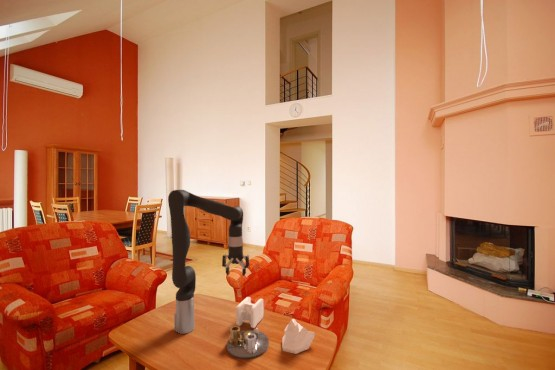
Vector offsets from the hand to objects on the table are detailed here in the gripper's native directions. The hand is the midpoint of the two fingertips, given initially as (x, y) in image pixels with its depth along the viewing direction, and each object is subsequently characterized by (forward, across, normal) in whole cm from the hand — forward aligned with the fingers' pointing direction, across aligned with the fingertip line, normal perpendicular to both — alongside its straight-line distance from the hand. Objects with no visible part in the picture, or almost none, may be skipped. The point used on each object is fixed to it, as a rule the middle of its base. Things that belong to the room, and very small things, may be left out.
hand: (235, 274), depth 138 cm
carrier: (+30, +9, -11) cm, 33 cm away
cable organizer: (+30, +5, +9) cm, 32 cm away
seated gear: (+28, +3, -11) cm, 30 cm away
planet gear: (+28, +12, -16) cm, 35 cm away
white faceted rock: (+30, +32, -9) cm, 45 cm away
